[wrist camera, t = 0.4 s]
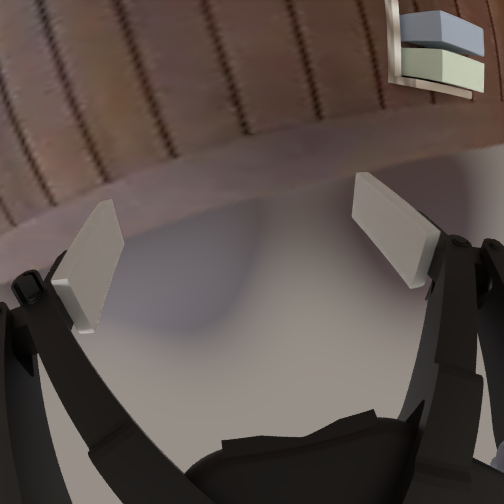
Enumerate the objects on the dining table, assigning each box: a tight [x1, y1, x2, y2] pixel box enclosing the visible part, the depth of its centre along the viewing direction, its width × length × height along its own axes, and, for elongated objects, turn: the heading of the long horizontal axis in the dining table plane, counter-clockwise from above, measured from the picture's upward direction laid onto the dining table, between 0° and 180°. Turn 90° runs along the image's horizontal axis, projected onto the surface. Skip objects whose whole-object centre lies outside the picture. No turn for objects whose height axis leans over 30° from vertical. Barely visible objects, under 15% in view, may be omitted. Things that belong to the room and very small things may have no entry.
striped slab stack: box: [385, 0, 472, 99], centre depth 29 cm, size 18×12×7 cm, turn 4°
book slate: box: [399, 10, 484, 57], centre depth 28 cm, size 4×9×10 cm, turn 94°
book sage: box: [401, 48, 484, 92], centre depth 31 cm, size 4×9×10 cm, turn 94°
